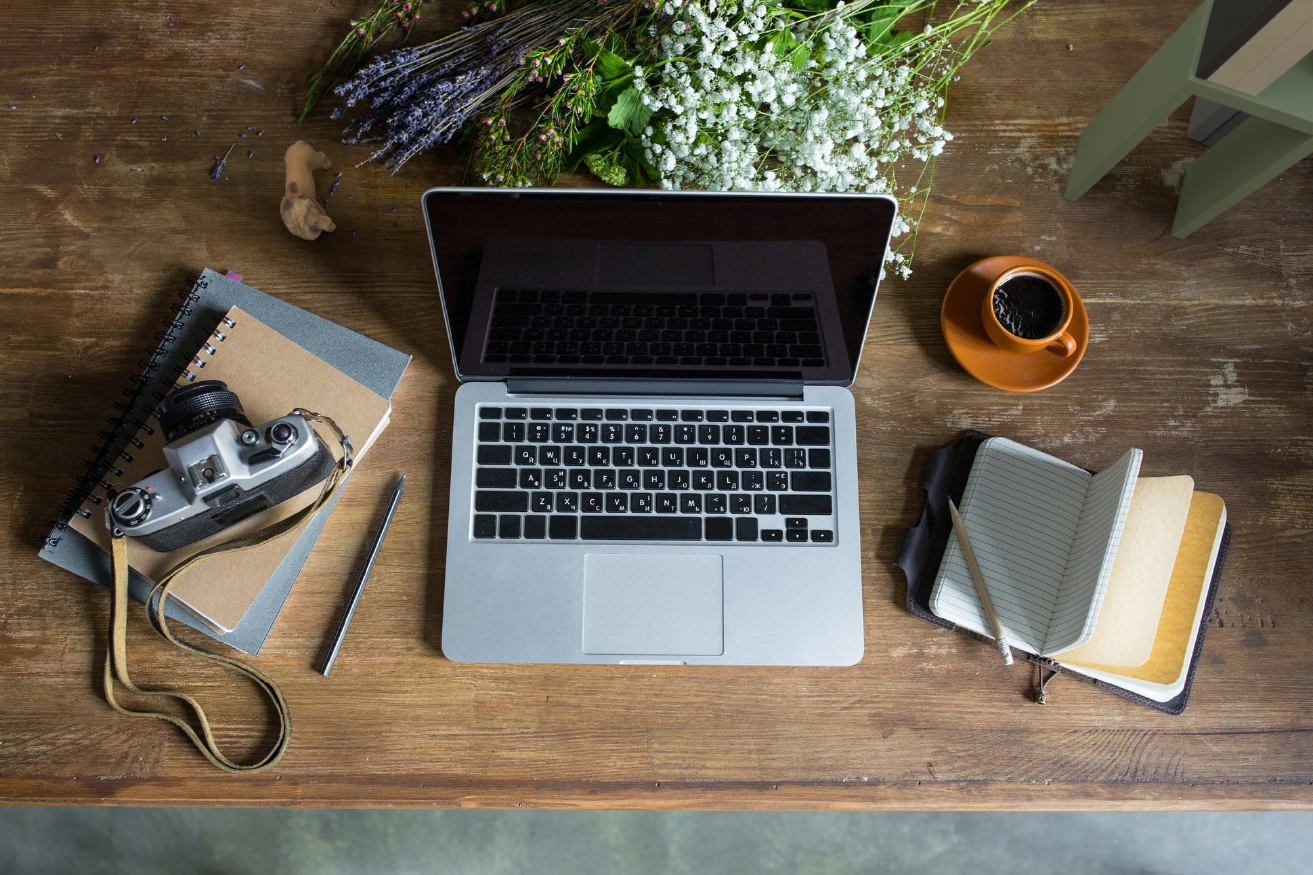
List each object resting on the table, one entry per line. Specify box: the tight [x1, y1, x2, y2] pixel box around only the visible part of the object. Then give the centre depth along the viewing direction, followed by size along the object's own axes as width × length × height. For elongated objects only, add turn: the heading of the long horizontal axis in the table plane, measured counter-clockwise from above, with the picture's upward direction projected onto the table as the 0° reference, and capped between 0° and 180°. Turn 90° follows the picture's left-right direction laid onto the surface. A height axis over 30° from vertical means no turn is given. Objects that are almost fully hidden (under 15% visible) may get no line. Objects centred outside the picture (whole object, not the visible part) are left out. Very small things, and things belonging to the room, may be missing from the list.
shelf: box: [1062, 0, 1313, 241], centre depth 86 cm, size 15×10×22 cm, turn 70°
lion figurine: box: [279, 139, 337, 241], centre depth 88 cm, size 15×5×9 cm, turn 16°
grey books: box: [1185, 95, 1252, 149], centre depth 93 cm, size 4×9×12 cm, turn 160°
